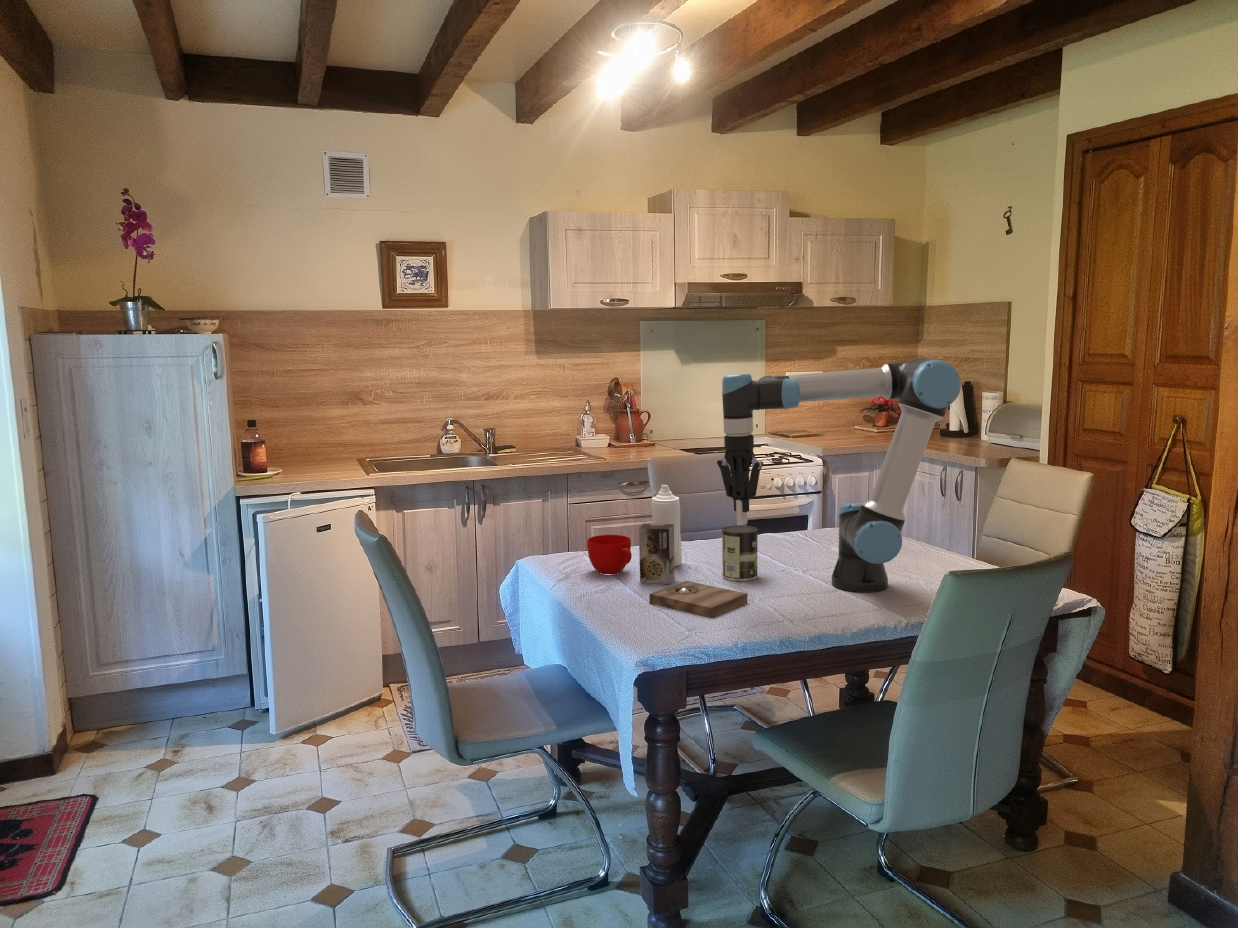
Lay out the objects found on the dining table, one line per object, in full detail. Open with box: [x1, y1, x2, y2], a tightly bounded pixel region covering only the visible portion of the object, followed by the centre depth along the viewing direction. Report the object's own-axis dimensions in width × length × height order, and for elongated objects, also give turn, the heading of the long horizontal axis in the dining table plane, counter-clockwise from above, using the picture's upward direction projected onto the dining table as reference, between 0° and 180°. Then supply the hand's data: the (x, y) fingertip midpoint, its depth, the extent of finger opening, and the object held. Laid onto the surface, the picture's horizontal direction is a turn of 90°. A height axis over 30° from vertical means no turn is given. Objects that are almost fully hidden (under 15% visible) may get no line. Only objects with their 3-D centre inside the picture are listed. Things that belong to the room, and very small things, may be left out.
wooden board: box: [649, 580, 748, 618], centre depth 246 cm, size 20×16×2 cm
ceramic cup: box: [586, 534, 633, 575], centre depth 276 cm, size 13×17×10 cm
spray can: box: [650, 484, 683, 567], centre depth 284 cm, size 12×11×25 cm
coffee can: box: [721, 525, 759, 582], centre depth 270 cm, size 10×10×14 cm
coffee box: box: [638, 522, 676, 585], centre depth 267 cm, size 9×6×16 cm
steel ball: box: [679, 588, 690, 593], centre depth 249 cm, size 3×3×3 cm
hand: (742, 523), depth 245 cm, fingers closed
